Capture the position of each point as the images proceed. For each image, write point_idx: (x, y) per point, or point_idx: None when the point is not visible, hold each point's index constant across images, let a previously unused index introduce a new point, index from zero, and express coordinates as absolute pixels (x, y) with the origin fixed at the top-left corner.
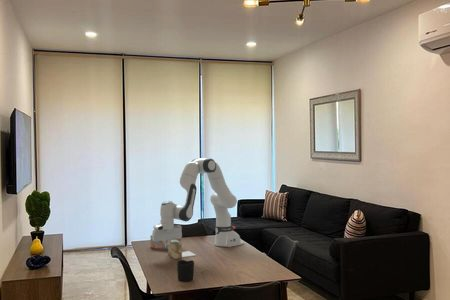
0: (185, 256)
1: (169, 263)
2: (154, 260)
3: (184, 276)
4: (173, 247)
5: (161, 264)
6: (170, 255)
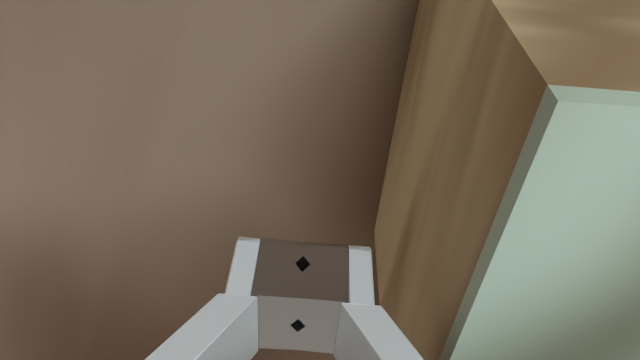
0: None
1: None
2: (40, 154)
3: None
4: None
5: (112, 329)
6: (409, 66)
